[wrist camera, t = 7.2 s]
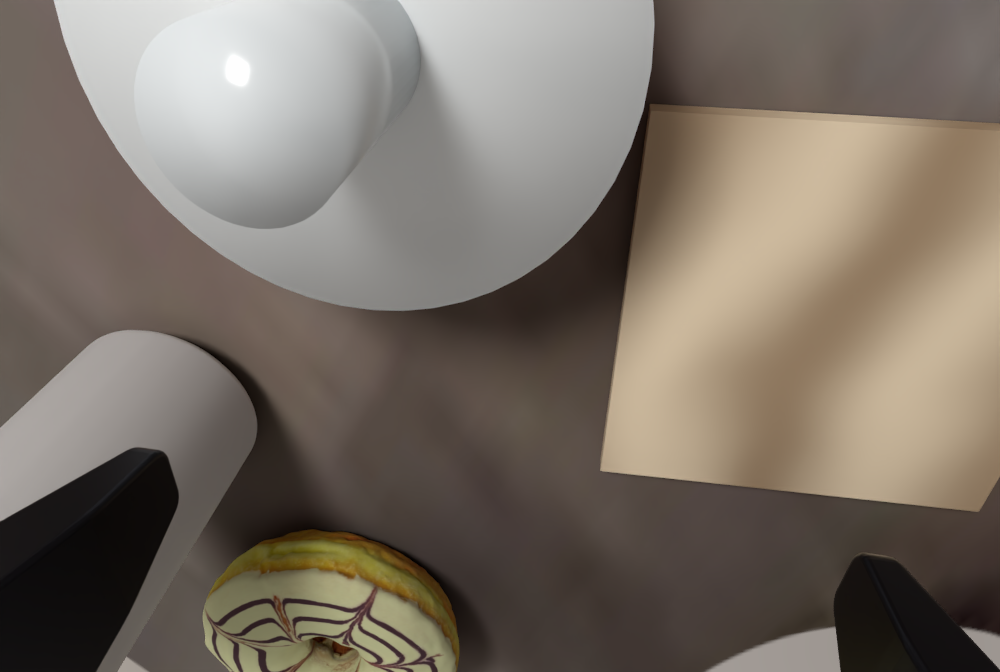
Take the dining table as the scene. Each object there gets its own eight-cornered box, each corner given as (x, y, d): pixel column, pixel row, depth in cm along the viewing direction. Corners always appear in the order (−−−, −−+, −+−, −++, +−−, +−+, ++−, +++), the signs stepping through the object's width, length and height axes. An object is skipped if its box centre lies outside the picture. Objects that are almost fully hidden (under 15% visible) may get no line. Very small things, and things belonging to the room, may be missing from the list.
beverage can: (179, 288, 22) (-164, 627, 12) (303, 429, 25) (102, 796, 15) (54, 355, 25) (-317, 684, 15) (180, 476, 27) (-62, 821, 18)
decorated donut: (301, 669, 35) (271, 748, 32) (188, 525, 29) (138, 604, 26) (498, 659, 32) (485, 745, 29) (412, 497, 27) (385, 581, 23)
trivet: (1180, 133, 16) (1199, 142, 15) (970, 497, 23) (978, 511, 22) (649, 103, 17) (650, 110, 17) (600, 458, 24) (600, 470, 23)
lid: (703, -359, 10) (775, -531, 5) (616, 311, 16) (618, 476, 12) (-23, -349, 11) (-438, -487, 7) (161, 274, 17) (11, 412, 13)
